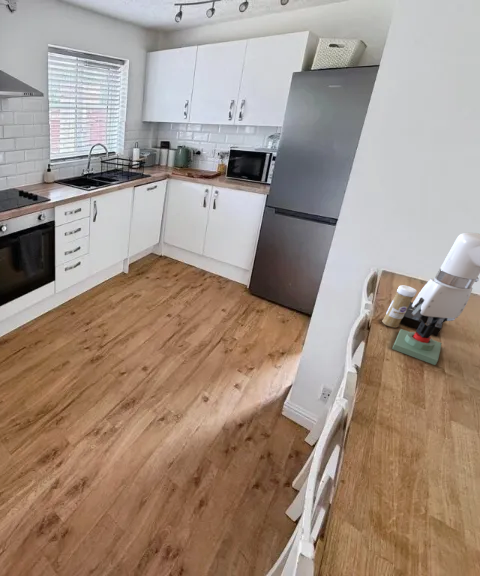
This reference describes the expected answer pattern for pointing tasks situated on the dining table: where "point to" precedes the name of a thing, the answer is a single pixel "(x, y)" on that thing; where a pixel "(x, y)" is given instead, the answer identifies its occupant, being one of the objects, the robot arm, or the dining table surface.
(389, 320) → the sprinkles bottle
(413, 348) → the button box
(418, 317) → the robot arm
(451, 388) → the dining table surface
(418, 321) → the panel
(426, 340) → the button
